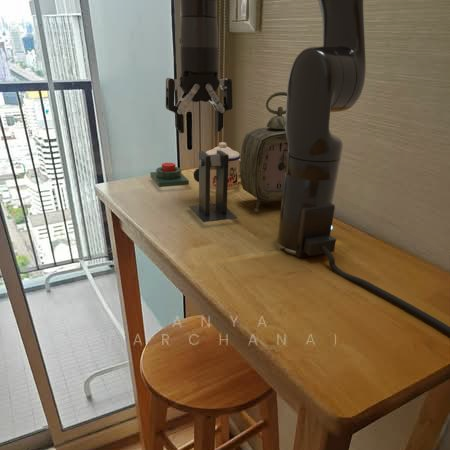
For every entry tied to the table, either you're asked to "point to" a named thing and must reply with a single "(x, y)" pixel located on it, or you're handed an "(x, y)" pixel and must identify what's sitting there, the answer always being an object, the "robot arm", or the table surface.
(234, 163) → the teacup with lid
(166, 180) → the button box
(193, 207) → the bracket
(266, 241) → the table surface
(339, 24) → the robot arm
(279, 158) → the tabletop clock
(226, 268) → the table surface
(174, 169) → the button
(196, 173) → the lever
